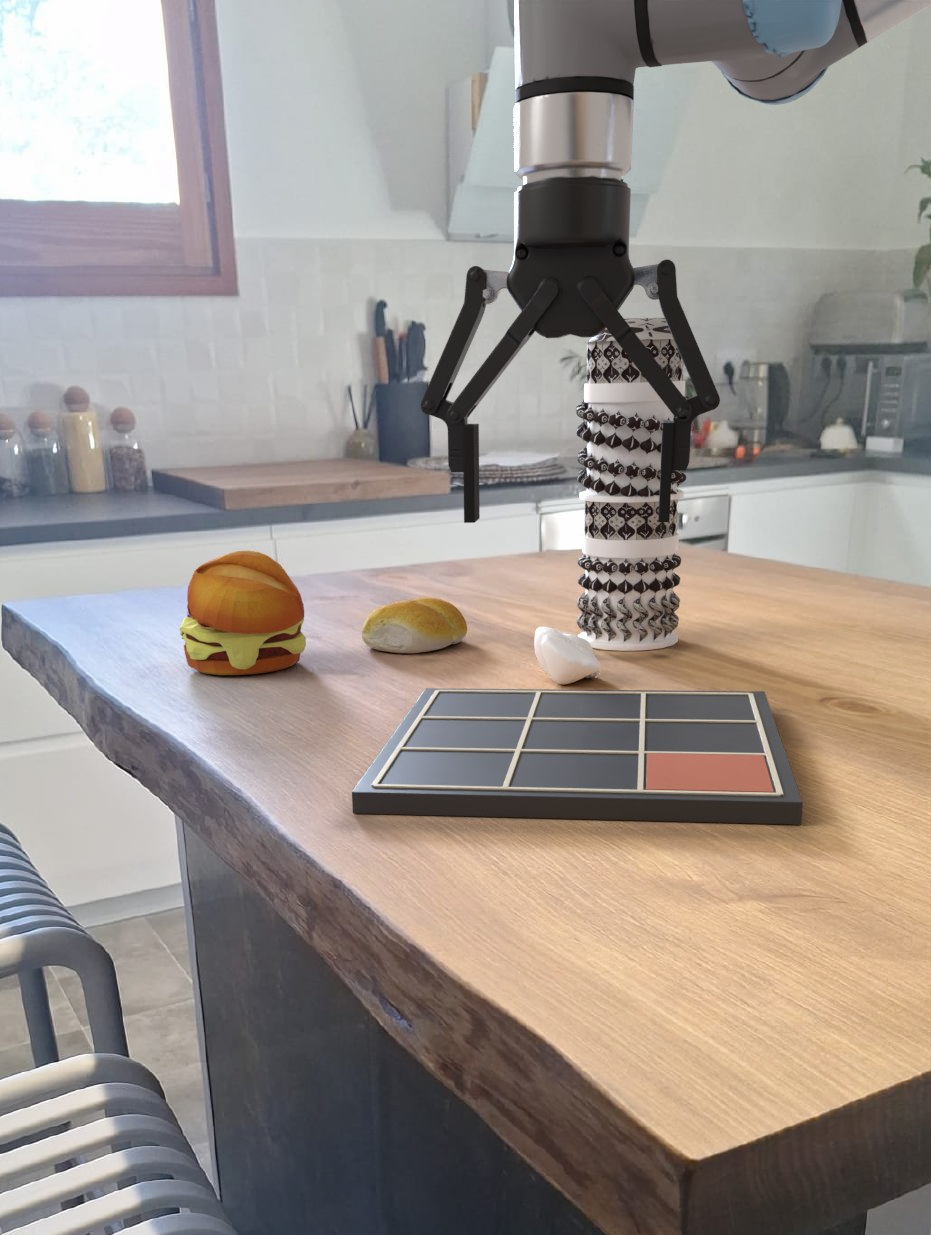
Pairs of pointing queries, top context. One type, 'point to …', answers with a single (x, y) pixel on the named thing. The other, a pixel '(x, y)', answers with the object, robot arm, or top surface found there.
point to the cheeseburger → (242, 616)
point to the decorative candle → (627, 496)
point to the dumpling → (565, 656)
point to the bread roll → (414, 626)
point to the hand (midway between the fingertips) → (566, 521)
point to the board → (585, 757)
